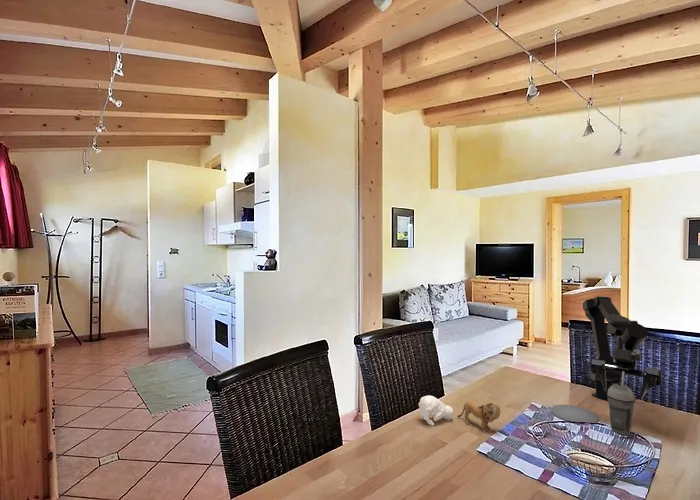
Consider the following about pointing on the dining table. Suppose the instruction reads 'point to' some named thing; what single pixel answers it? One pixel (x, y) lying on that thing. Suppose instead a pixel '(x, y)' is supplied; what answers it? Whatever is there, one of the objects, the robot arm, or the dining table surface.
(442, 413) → the white rounded figure
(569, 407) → the coaster
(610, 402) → the beverage cup
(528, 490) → the dining table surface
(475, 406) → the lion figurine
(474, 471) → the dining table surface
